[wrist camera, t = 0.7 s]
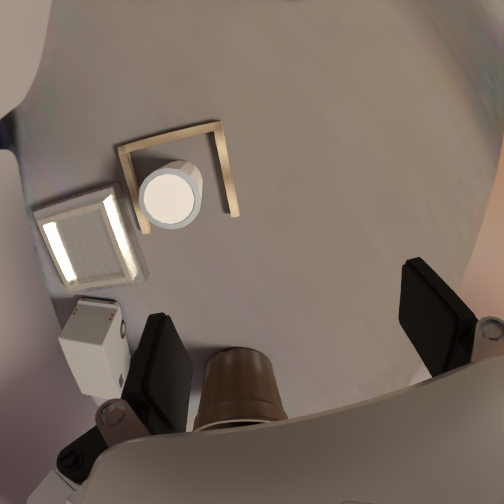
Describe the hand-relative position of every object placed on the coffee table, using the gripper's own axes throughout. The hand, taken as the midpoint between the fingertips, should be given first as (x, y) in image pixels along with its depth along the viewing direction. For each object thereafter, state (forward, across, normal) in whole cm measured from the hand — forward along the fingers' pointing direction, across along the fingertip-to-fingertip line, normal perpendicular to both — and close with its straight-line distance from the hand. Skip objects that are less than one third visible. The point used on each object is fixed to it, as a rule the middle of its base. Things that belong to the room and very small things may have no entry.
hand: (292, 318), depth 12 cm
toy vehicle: (+30, +31, +22) cm, 48 cm away
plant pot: (+30, +10, +34) cm, 47 cm away
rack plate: (+29, +24, +4) cm, 38 cm away
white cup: (+29, +9, 0) cm, 30 cm away
